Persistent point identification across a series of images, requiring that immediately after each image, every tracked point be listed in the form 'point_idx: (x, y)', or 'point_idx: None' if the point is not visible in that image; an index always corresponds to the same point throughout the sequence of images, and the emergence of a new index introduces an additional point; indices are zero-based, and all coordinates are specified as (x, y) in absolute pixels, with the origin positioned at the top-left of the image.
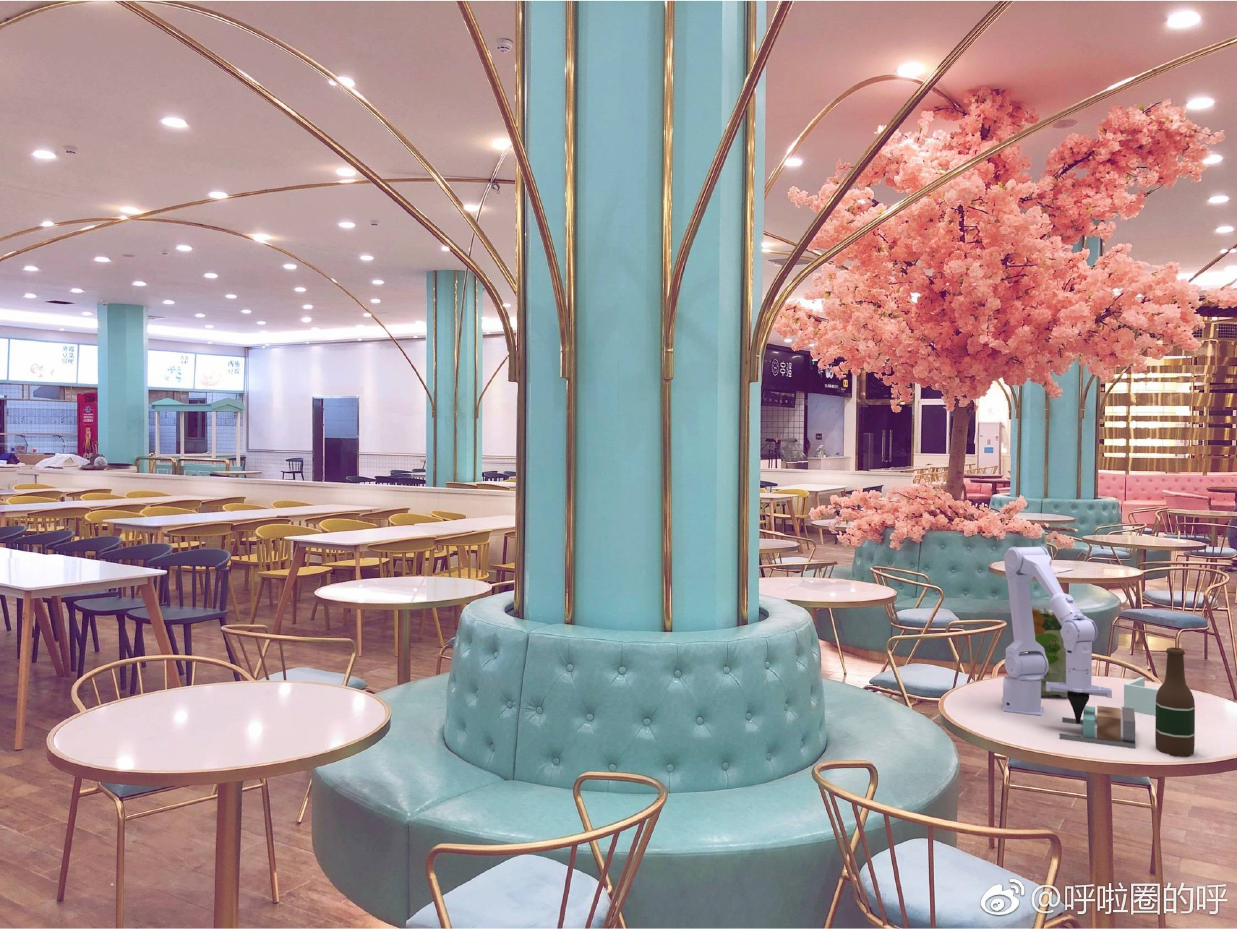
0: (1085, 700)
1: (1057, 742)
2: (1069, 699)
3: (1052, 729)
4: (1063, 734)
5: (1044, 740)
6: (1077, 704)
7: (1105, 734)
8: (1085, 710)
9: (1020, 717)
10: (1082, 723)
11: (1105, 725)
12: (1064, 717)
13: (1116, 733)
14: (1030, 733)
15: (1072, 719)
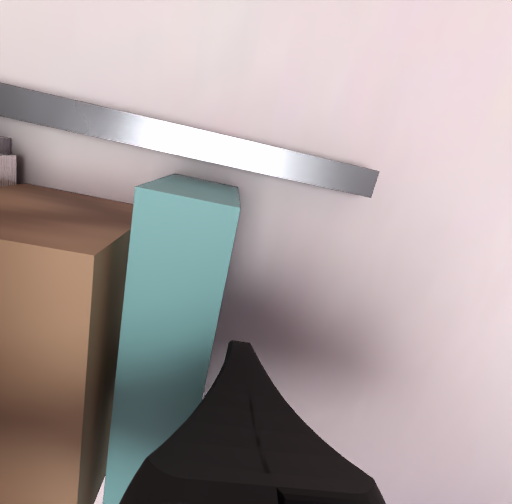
0: (173, 465)
1: (395, 103)
2: (363, 475)
3: (349, 347)
4: (355, 179)
5: (457, 127)
6: (261, 432)
7: (92, 206)
8: None
9: (436, 475)
10: None
11: (59, 220)
12: None
13: (8, 194)
14: (484, 247)
15: None
